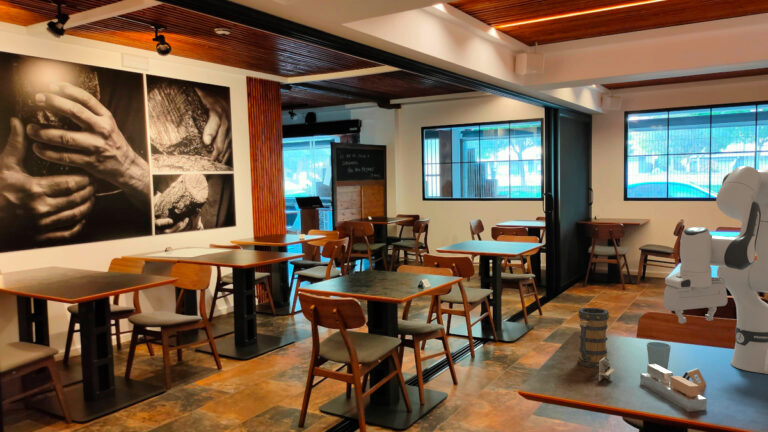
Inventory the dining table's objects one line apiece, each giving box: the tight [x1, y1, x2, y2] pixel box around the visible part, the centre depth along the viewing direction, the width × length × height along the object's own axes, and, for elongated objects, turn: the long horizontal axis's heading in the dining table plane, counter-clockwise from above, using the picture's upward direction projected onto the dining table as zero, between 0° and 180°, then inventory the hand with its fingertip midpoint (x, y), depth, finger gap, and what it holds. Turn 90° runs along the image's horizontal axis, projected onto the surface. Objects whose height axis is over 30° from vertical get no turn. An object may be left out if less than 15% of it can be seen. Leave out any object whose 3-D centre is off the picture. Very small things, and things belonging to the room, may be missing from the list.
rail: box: [639, 363, 707, 413], centre depth 184 cm, size 6×24×7 cm, turn 9°
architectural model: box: [598, 357, 615, 382], centre depth 199 cm, size 3×7×7 cm, turn 141°
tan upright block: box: [670, 375, 700, 398], centre depth 178 cm, size 3×9×7 cm, turn 9°
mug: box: [576, 307, 611, 368], centre depth 215 cm, size 13×17×20 cm
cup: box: [646, 341, 672, 370], centre depth 205 cm, size 8×8×10 cm
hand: (695, 321), depth 184 cm, fingers open, 8 cm apart
